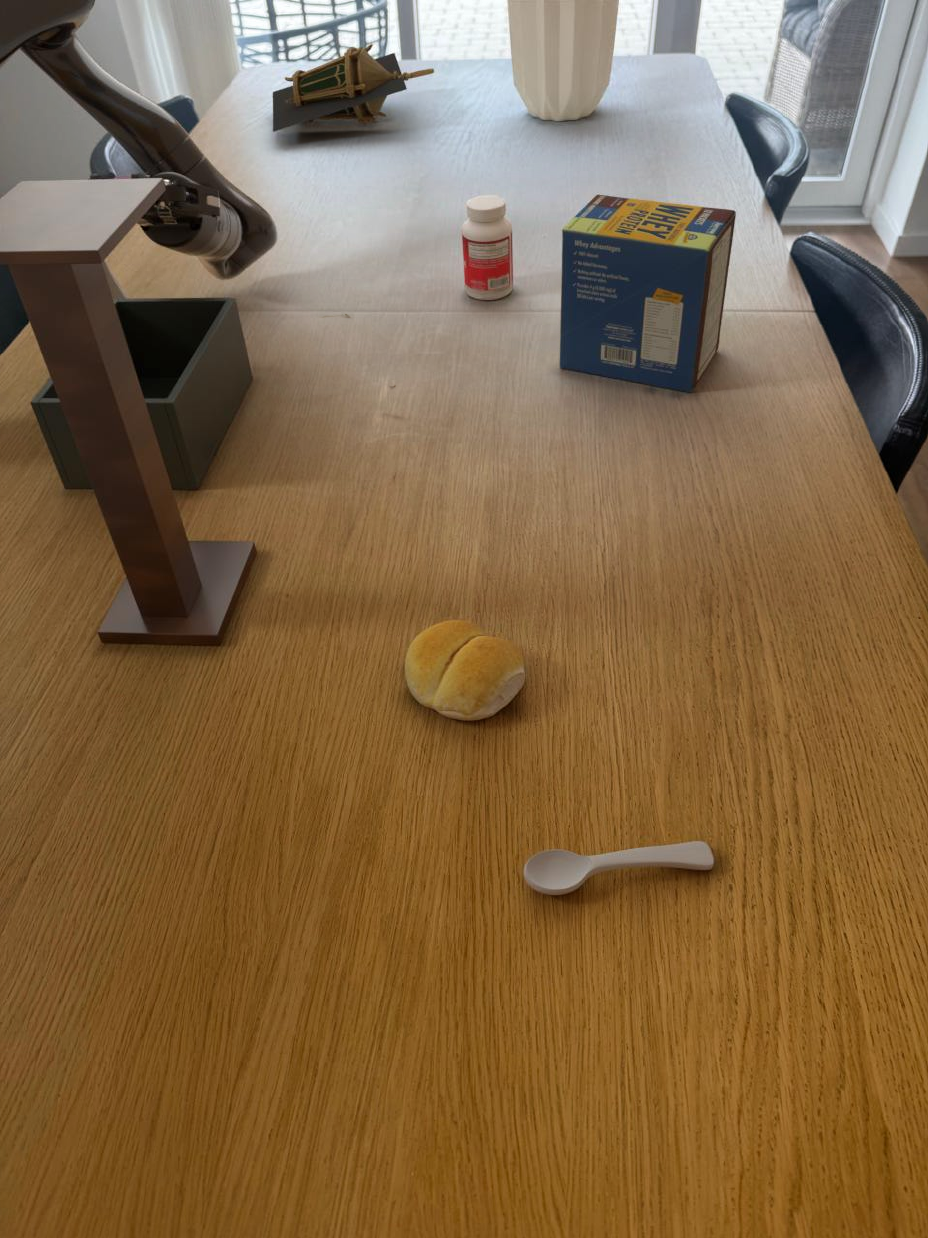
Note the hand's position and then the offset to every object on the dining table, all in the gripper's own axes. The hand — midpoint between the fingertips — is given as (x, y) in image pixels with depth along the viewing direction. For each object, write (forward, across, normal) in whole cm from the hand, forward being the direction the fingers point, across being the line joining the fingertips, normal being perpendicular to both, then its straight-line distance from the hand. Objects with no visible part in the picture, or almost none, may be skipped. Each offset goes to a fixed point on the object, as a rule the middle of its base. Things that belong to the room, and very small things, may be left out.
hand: (115, 185), depth 89 cm
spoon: (+37, +46, +48) cm, 76 cm away
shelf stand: (+15, +10, +35) cm, 40 cm away
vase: (-102, +40, -31) cm, 113 cm away
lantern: (-100, +2, -30) cm, 104 cm away
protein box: (-21, +50, +15) cm, 56 cm away
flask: (-29, -15, +10) cm, 35 cm away
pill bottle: (-36, +32, +6) cm, 49 cm away
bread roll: (+23, +35, +40) cm, 58 cm away
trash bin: (-8, 0, +23) cm, 24 cm away
